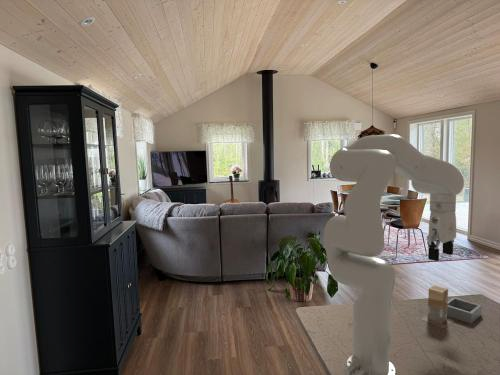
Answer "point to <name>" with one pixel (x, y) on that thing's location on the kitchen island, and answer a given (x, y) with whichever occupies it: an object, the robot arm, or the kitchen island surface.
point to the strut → (437, 304)
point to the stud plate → (438, 323)
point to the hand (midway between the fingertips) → (440, 256)
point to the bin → (463, 310)
